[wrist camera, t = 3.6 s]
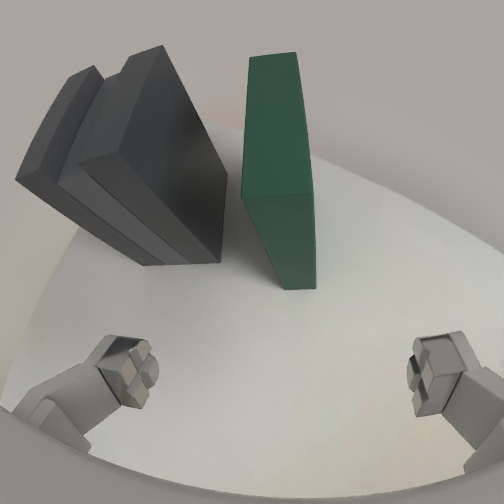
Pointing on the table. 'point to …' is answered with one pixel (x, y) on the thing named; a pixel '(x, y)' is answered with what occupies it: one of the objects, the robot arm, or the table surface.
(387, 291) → the table surface
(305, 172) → the green book
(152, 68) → the grey books
